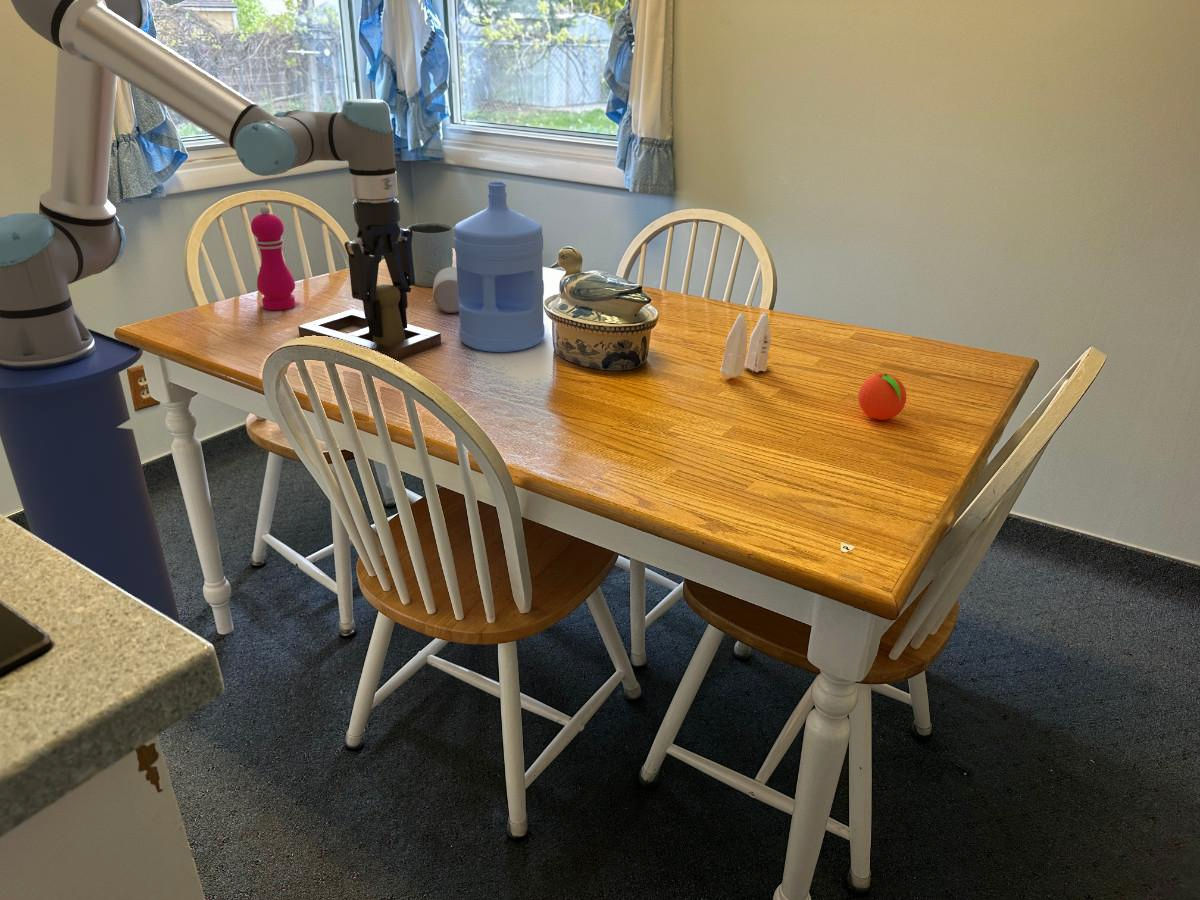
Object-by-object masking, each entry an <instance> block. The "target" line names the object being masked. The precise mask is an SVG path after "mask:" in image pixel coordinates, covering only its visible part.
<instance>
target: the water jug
mask: <svg viewBox="0 0 1200 900" xmlns="http://www.w3.org/2000/svg"><path fill="white" fill-rule="evenodd" d="M487 187H488V193H487V197H488V206H487V207H486V208H485V209H483V210H481V211H478V212H477V213H475V214H472V215H471V216H469V217H467V218H465V219H462V220H461V221H459V222H457V223H456V224H455V226H454V227H453V228H454V234H453V249H454V252H455V266H456V268H457V293H458V304H459V312H458V320H459V321H458V322H459V326H458V334H459V339H460V340H461V342H462V343H463V344H464V345H466V346H467V347H469V348H472V349H475V350H478V351H483V352H490V353H491V352H492V353H510V352H519V351H523V350H527V349H530V348H532V347H535V346H537V345H538V344H540V343H541V342H542V340H543V339H544V337H545V331H546V329H545V328H546V327H545V323H544V294H545V284H544V276H543V275H544V273H543V272H544V270H543V268H544V267H543V265H544V263H543V251H544V235H543V226H542V225H541V223H539V222H538V221H537V220H535V219H532V218H530V217H528V216H526V215H523V214H522V213H520V212H517V211H515V210H514V209H512V208H509V206H508V204H507V196H508V195H507V191H506V188H507V183H506V182H502V181H491V182H488V183H487Z"/></svg>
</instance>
